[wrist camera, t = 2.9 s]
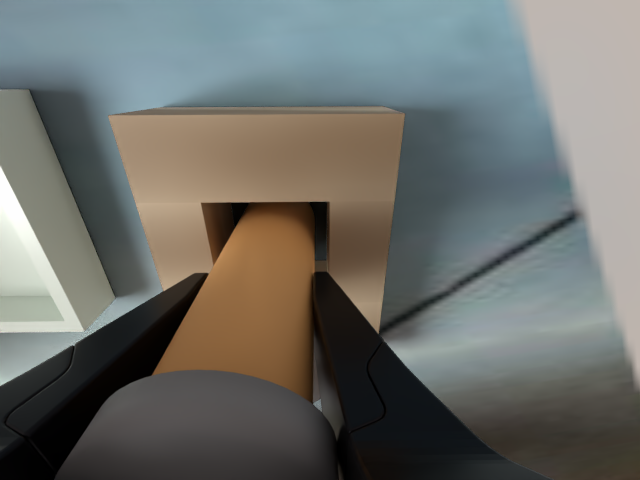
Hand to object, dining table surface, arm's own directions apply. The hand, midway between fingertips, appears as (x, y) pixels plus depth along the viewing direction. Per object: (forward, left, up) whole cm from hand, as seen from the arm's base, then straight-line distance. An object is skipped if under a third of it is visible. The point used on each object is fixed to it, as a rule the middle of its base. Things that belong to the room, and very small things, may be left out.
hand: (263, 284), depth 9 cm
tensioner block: (-1, 0, -4) cm, 5 cm away
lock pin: (0, 0, -4) cm, 4 cm away
